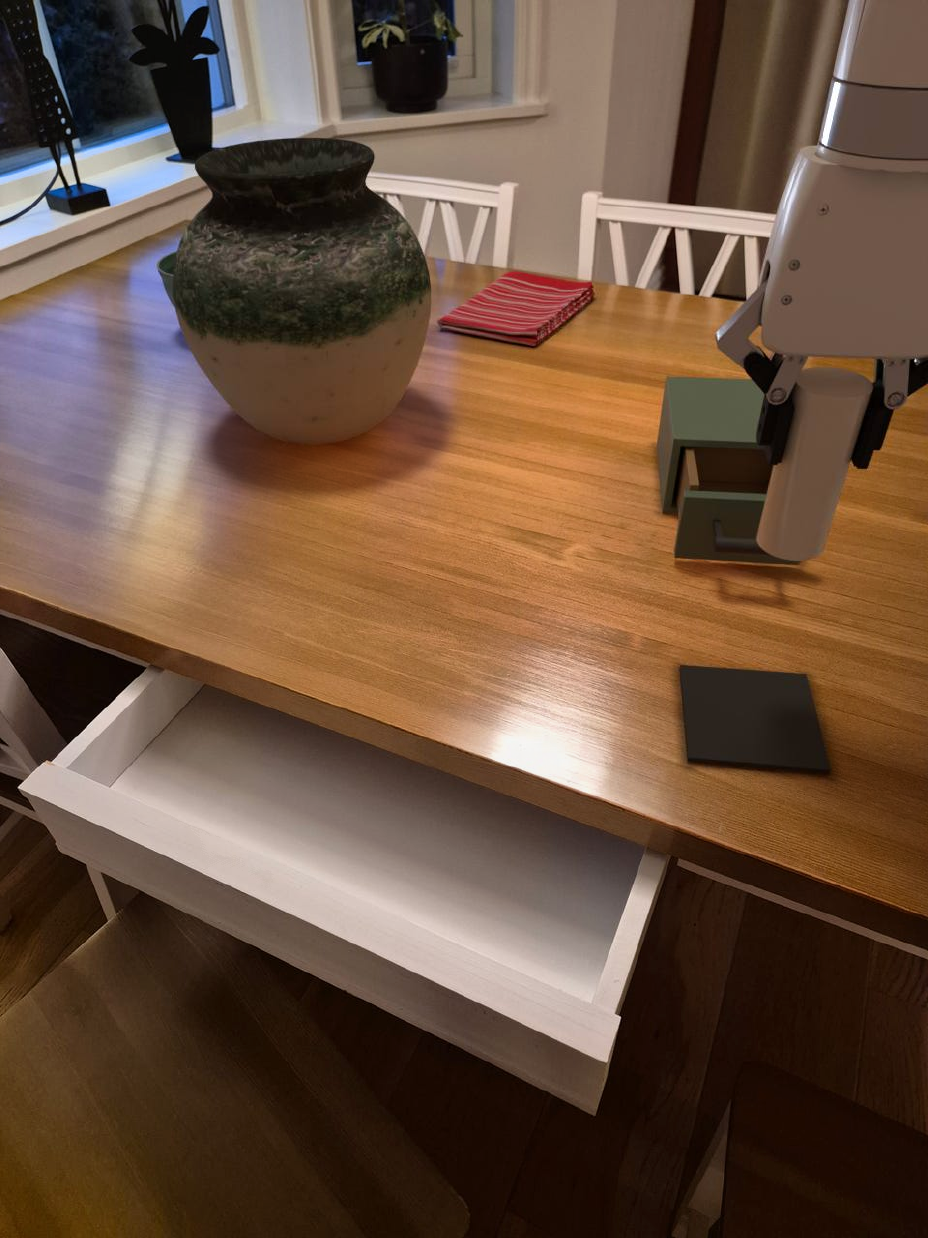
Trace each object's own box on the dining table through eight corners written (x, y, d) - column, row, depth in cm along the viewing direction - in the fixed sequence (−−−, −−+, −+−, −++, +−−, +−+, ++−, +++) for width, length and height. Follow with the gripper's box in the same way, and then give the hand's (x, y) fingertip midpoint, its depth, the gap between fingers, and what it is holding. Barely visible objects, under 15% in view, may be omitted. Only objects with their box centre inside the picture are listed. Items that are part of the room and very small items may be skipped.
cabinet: (787, 519, 85) (808, 444, 80) (662, 513, 87) (673, 438, 81) (767, 450, 96) (784, 379, 91) (656, 445, 98) (666, 375, 92)
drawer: (806, 593, 74) (826, 529, 70) (676, 585, 76) (688, 522, 71) (777, 490, 88) (792, 431, 83) (667, 484, 89) (676, 426, 85)
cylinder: (817, 526, 58) (864, 367, 50) (829, 563, 55) (881, 399, 47) (752, 522, 58) (789, 365, 51) (760, 559, 55) (800, 396, 48)
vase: (180, 486, 93) (98, 192, 74) (236, 379, 115) (183, 131, 96) (433, 481, 93) (417, 185, 73) (441, 375, 114) (430, 124, 95)
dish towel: (597, 297, 136) (598, 280, 134) (537, 349, 120) (538, 330, 119) (503, 283, 143) (503, 267, 141) (435, 330, 127) (434, 312, 125)
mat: (804, 679, 67) (806, 673, 67) (829, 775, 60) (831, 770, 59) (679, 669, 69) (680, 664, 68) (687, 763, 61) (688, 757, 61)
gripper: (1060, 108, 42) (938, 434, 54) (719, 110, 44) (673, 423, 56) (1127, 138, 37) (975, 495, 48) (733, 138, 39) (678, 480, 51)
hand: (813, 453), depth 52 cm, fingers closed on cylinder, 4 cm apart
